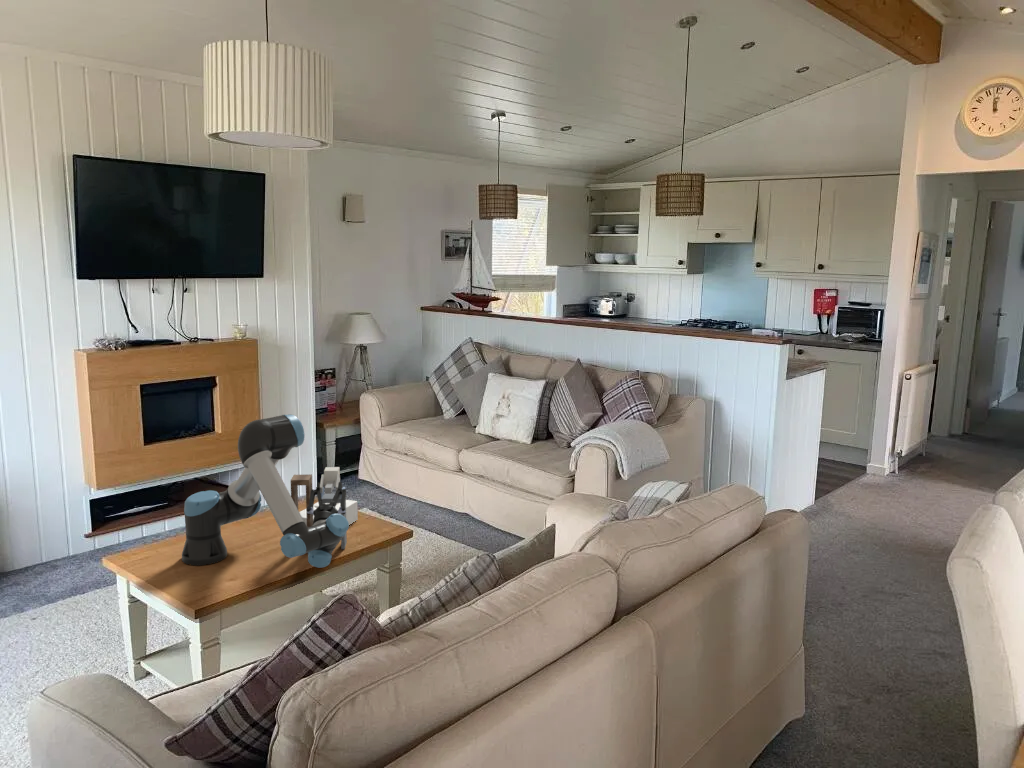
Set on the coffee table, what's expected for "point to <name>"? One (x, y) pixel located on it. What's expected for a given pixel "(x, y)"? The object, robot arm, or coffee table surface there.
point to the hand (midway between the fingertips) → (330, 476)
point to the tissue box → (350, 509)
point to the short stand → (327, 499)
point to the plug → (330, 478)
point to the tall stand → (306, 481)
